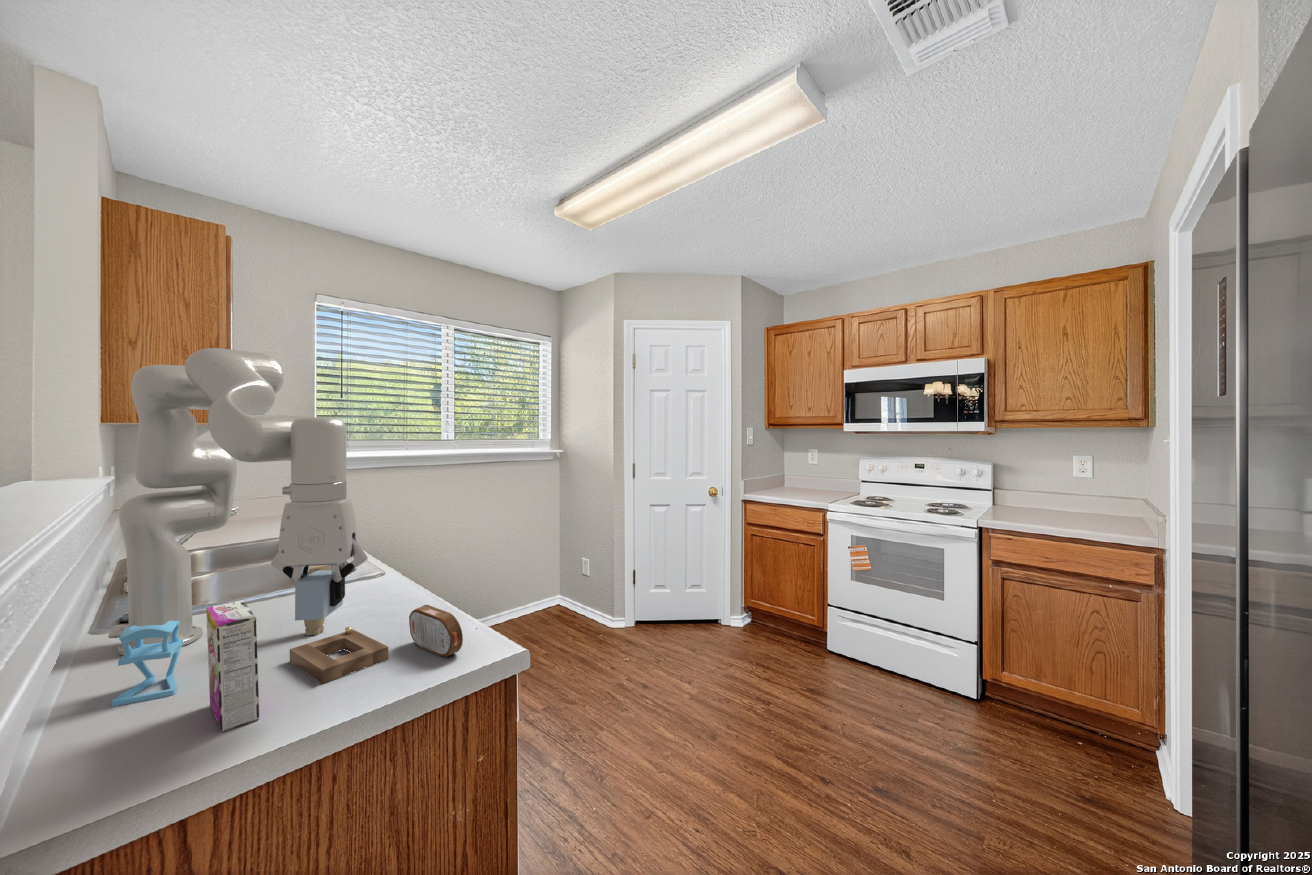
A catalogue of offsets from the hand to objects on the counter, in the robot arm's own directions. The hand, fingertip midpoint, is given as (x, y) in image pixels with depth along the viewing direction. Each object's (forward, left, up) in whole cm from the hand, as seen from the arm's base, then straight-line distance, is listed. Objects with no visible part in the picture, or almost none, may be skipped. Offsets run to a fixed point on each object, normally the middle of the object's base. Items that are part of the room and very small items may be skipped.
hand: (320, 603), depth 82 cm
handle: (-15, +31, -17) cm, 38 cm away
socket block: (-4, +16, -17) cm, 23 cm away
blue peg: (0, 0, -1) cm, 1 cm away
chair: (-31, +10, -17) cm, 36 cm away
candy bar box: (-13, -1, -17) cm, 21 cm away
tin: (+13, +17, -17) cm, 28 cm away
